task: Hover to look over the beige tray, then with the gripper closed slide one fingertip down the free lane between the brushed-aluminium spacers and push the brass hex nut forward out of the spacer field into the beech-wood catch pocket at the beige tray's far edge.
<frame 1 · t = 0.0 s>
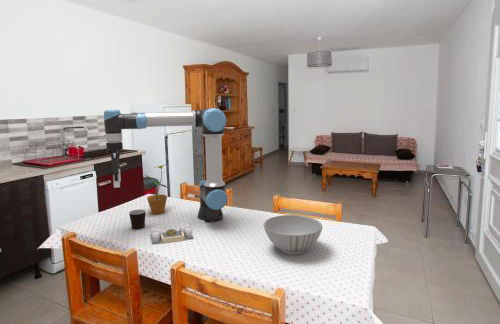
hand: (117, 184, 170), 28 cm above the table, fingers open, 13 cm apart
decorative bowl: (292, 249, 159), on the table
potted plant: (157, 212, 214), on the table
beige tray: (172, 238, 172), on the table
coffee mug: (140, 228, 187), on the table
nut: (171, 234, 175), point 1 cm above the table, touching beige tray
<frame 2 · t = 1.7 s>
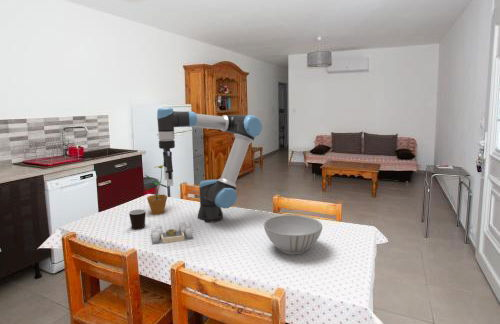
hand: (168, 182, 169), 29 cm above the table, fingers open, 13 cm apart
nothing on the table moved.
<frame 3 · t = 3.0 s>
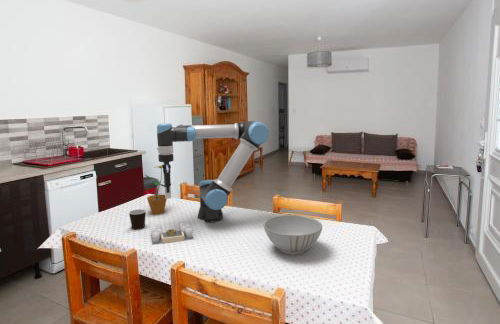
hand: (168, 198, 179), 18 cm above the table, fingers closed
nothing on the table moved.
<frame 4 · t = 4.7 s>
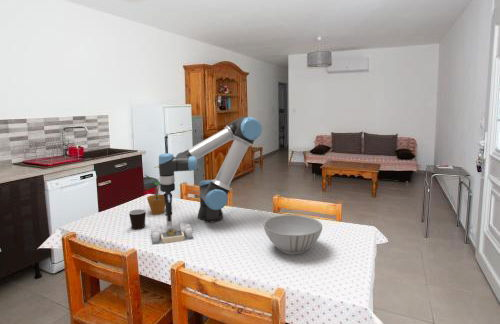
hand: (169, 226, 182), 3 cm above the table, fingers closed
nothing on the table moved.
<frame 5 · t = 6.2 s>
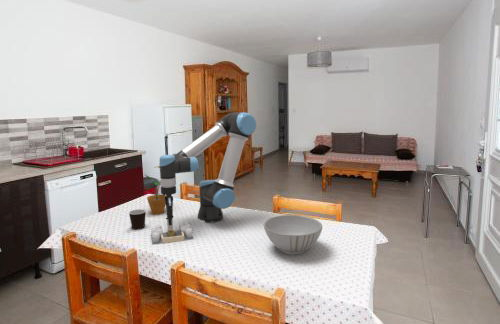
hand: (170, 230, 176), 3 cm above the table, fingers closed
nut: (171, 235, 174), point 1 cm above the table, touching gripper
everything else where it was.
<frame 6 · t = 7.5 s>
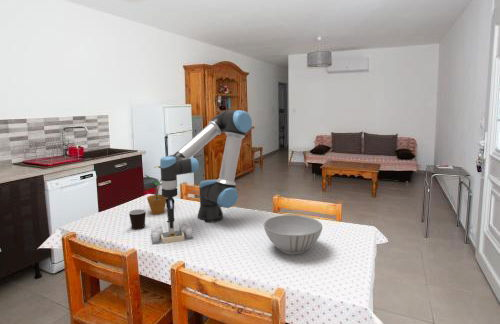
hand: (171, 233, 172), 3 cm above the table, fingers closed
nut: (172, 238, 170), point 1 cm above the table, touching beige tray, gripper
everything else where it was.
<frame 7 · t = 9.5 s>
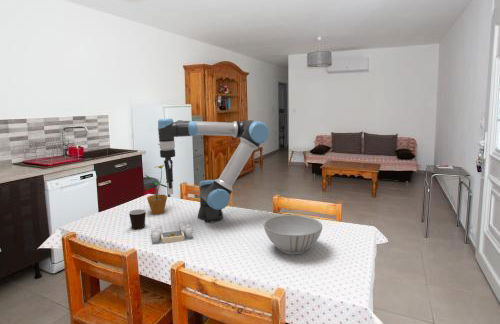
hand: (170, 193, 178), 21 cm above the table, fingers closed
nut: (172, 238, 170), point 1 cm above the table, touching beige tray
everything else where it was.
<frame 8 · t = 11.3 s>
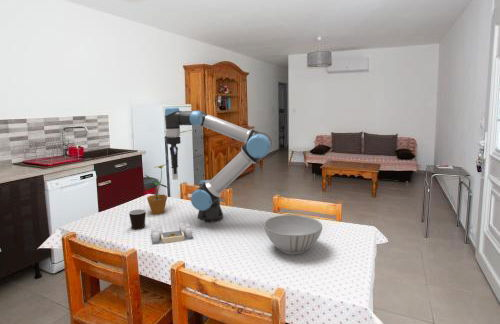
hand: (175, 179, 187), 26 cm above the table, fingers closed
nothing on the table moved.
at the end: nut inside the target area (1.1 cm from its centre), point 1.2 cm above the table; the gripper is holding nothing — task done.
